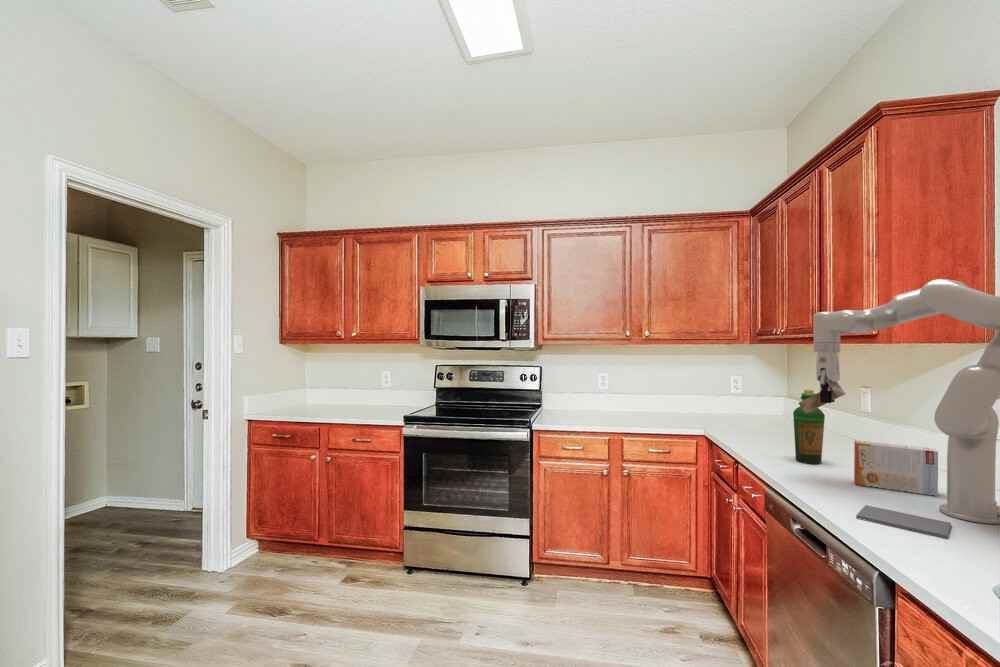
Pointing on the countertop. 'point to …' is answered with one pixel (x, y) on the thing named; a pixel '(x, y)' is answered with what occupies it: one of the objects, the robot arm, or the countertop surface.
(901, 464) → the cracker box
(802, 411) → the bottle
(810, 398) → the tan boxy piece
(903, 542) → the countertop surface
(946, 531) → the mat
